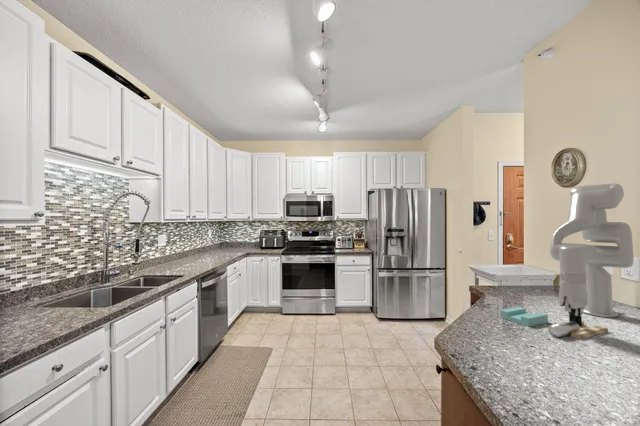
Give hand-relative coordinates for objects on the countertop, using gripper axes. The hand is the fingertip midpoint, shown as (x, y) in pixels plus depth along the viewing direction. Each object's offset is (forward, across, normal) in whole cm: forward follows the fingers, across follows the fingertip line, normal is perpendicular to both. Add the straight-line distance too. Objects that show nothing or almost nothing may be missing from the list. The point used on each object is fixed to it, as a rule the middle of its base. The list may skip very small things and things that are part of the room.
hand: (575, 324), depth 109 cm
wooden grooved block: (+3, -1, 0) cm, 3 cm away
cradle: (+3, +6, -16) cm, 17 cm away
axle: (+2, +8, 0) cm, 8 cm away
